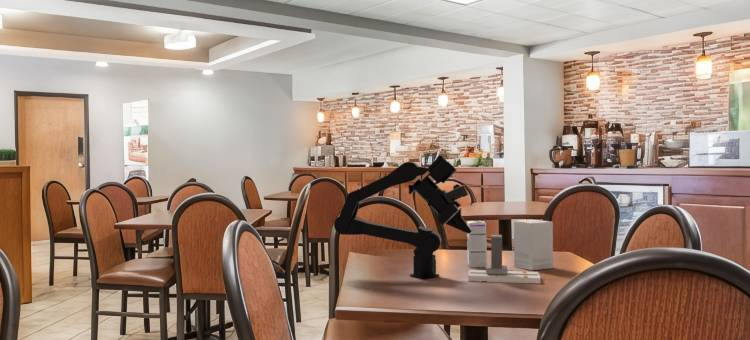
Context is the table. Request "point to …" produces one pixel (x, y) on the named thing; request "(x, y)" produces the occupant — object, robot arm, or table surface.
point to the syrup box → (477, 244)
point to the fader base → (505, 276)
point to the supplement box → (533, 244)
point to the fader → (496, 256)
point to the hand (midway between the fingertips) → (470, 232)
